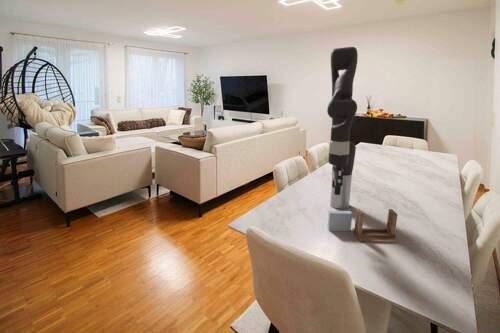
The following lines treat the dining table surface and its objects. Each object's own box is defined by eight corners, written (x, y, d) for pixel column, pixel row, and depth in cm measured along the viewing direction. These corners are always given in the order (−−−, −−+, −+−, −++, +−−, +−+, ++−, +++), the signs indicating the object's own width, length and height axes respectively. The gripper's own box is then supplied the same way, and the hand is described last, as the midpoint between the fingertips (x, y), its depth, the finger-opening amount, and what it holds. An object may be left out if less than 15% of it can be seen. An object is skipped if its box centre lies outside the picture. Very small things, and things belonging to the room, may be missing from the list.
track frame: (352, 230, 123) (354, 206, 120) (386, 230, 122) (389, 206, 119) (359, 242, 113) (362, 216, 110) (396, 242, 113) (400, 217, 110)
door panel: (327, 228, 125) (328, 210, 123) (348, 228, 124) (350, 211, 122) (328, 230, 122) (330, 213, 120) (350, 231, 122) (352, 213, 120)
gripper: (327, 147, 121) (325, 184, 126) (330, 155, 108) (327, 196, 112) (346, 148, 120) (343, 185, 124) (351, 156, 107) (348, 197, 111)
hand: (335, 190), depth 118 cm, fingers open, 8 cm apart
